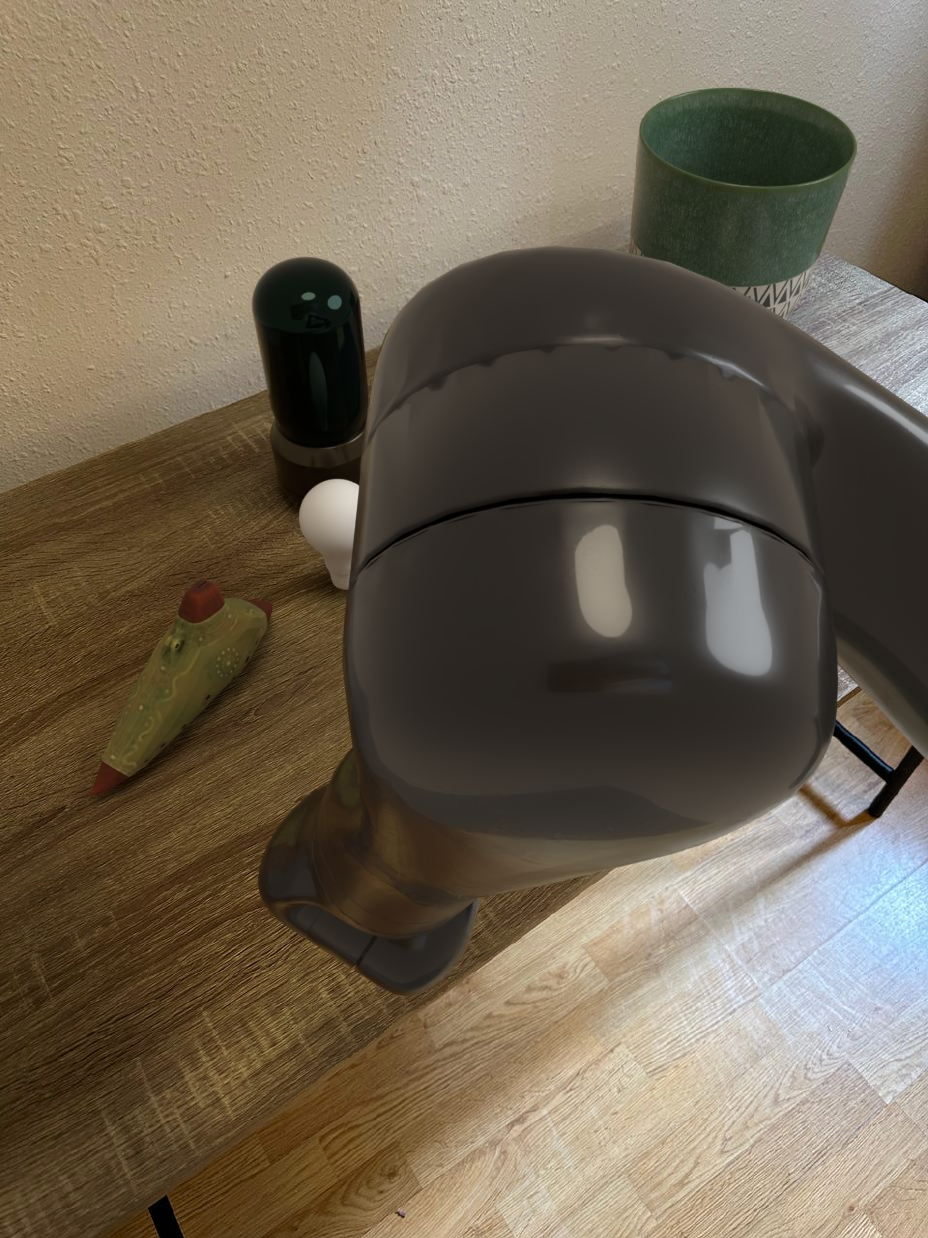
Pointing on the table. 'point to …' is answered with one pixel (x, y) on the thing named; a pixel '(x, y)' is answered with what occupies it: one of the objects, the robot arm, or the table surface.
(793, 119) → the planter
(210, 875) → the table surface
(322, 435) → the lamp
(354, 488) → the lightbulb
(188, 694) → the ocarina
